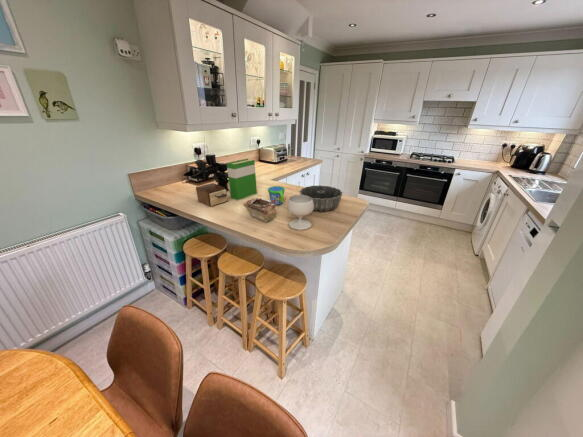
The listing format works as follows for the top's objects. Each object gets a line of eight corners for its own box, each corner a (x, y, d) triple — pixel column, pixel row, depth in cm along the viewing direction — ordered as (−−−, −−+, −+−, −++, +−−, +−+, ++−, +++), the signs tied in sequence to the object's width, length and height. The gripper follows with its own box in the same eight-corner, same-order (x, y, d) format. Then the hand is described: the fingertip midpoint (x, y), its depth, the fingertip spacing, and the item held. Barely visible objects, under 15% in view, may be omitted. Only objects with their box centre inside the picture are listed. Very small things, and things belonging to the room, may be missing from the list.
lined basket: (258, 227, 123) (257, 210, 118) (238, 215, 136) (236, 199, 131) (278, 219, 131) (277, 203, 126) (257, 209, 144) (256, 194, 140)
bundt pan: (309, 196, 164) (309, 182, 159) (346, 202, 153) (347, 188, 148) (292, 209, 143) (292, 194, 138) (333, 218, 132) (334, 202, 127)
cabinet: (226, 201, 156) (224, 187, 151) (209, 206, 147) (207, 192, 143) (214, 196, 164) (212, 182, 160) (198, 200, 156) (195, 187, 152)
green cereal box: (249, 191, 174) (247, 158, 163) (256, 193, 170) (254, 160, 159) (230, 197, 162) (226, 163, 151) (237, 200, 157) (233, 164, 147)
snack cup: (265, 200, 156) (264, 186, 152) (279, 198, 160) (279, 184, 156) (273, 209, 144) (273, 193, 139) (289, 206, 148) (289, 190, 143)
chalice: (300, 216, 134) (300, 192, 127) (318, 225, 124) (320, 198, 118) (281, 224, 125) (281, 198, 118) (300, 234, 116) (300, 206, 109)
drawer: (231, 202, 151) (230, 191, 148) (215, 207, 143) (214, 195, 140) (216, 196, 162) (214, 185, 159) (200, 200, 154) (198, 189, 151)
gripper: (198, 157, 162) (177, 161, 152) (214, 160, 152) (191, 165, 141) (201, 173, 168) (181, 178, 157) (217, 177, 157) (195, 183, 146)
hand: (187, 176), depth 150 cm, fingers open, 9 cm apart
